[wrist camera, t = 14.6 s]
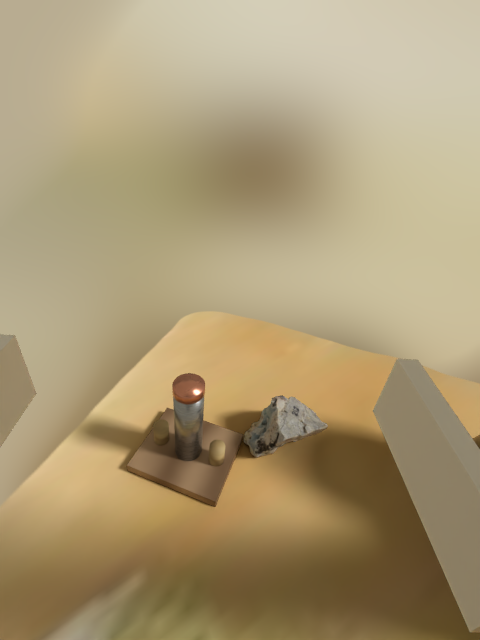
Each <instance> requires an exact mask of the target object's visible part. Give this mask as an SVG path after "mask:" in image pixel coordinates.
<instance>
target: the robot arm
mask: <svg viewBox="0 0 480 640" xmlns="http://www.w3.org/2000/svg"><path fill="white" fill-rule="evenodd" d="M35 395H36V391H35V389H34V386H33V383H32V380H31V378H30V375H29V372H28V369H27V367H26V364H25V361H24V359H23V356H22V353H21V350H20V348H19V345H18V342H17V340H16V337H15V335H0V447H1V446H2V444H3V443H4V441H5V440H6V438H7V436H8V435H9V434H10V432H11V431H12V429H13V428H14V426H15V425H16V423H17V422H18V420H19V419H20V417H21V416H22V414H23V413H24V411H25V410H26V408H27V407H28V405H29V404H30V402H31V401H32V399H33V398H34V396H35ZM373 412H374V414H375V416H376V419H377V421H378V423H379V426H380V428H381V430H382V432H383V435H384V437H385V439H386V442H387V444H388V446H389V448H390V451H391V453H392V455H393V458H394V460H395V462H396V464H397V467H398V469H399V471H400V474H401V476H402V478H403V480H404V483H405V485H406V487H407V490H408V492H409V494H410V497H411V499H412V501H413V503H414V506H415V508H416V510H417V513H418V515H419V517H420V519H421V522H422V524H423V526H424V529H425V531H426V533H427V535H428V538H429V540H430V542H431V545H432V547H433V549H434V551H435V554H436V556H437V558H438V561H439V563H440V565H441V567H442V570H443V572H444V574H445V577H446V579H447V581H448V583H449V586H450V588H451V590H452V593H453V595H454V597H455V599H456V602H457V604H458V606H459V609H460V611H461V613H462V616H463V618H464V620H465V622H466V625H467V627H468V629H469V632H477V633H480V435H478V436H477V437H475V438H473V439H472V437H471V436H470V434H469V433H468V432H467V430H466V429H465V427H464V426H463V424H462V423H461V421H460V420H459V419H458V417H457V416H456V414H455V413H454V411H453V410H452V408H451V407H450V406H449V404H448V403H447V401H446V400H445V398H444V397H443V395H442V394H441V393H440V391H439V390H438V388H437V387H436V385H435V384H434V382H433V381H432V379H431V378H430V377H429V375H428V374H427V372H426V371H425V369H424V368H423V366H422V365H421V364H420V362H419V361H418V360H411V359H397V360H396V362H395V364H394V367H393V369H392V371H391V373H390V375H389V377H388V379H387V382H386V384H385V386H384V388H383V390H382V392H381V395H380V397H379V399H378V401H377V403H376V405H375V407H374V410H373Z"/></svg>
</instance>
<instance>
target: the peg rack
mask: <svg viewBox="0 0 480 640" xmlns="http://www.w3.org/2000/svg"><path fill="white" fill-rule="evenodd" d="M242 440H243V434H240V433H237V432H235V431H232V430H229V429H226V428H223V427H220V426H218V425H215V424H212V423H209V422H206V421H203V435H202V452H201V454H200V456H199V457H198V458H197V459H195V460H193V461H183V460H181V459H179V458H178V457H177V455H176V453H175V430H174V410H172V409H169V408H167V409H166V410H165V412H164V413H163V415H162V416H161V418H160V419H159V420H157V421H156V422H155V423H154V424H153V429H152V430H151V432H150V433H149V435H148V436H147V437H146V439H145V440H144V442H143V443H142V444H141V446H140V447H139V449H138V450H137V452H136V453H135V454H134V456H133V457H132V459H131V460H130V462H129V463H128V464H127V469H128V471H130V472H132V473H135V474H137V475H139V476H142V477H144V478H147V479H149V480H151V481H154V482H156V483H159V484H161V485H164V486H166V487H168V488H171V489H173V490H176V491H178V492H180V493H183V494H185V495H188V496H190V497H192V498H195V499H197V500H200V501H202V502H205V503H207V504H209V505H212V506H214V507H215V506H216V504H217V501H218V499H219V496H220V494H221V491H222V489H223V487H224V484H225V482H226V479H227V477H228V474H229V472H230V469H231V467H232V464H233V462H234V460H235V457H236V455H237V452H238V450H239V447H240V445H241V442H242Z"/></svg>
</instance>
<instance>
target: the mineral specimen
mask: <svg viewBox="0 0 480 640" xmlns="http://www.w3.org/2000/svg"><path fill="white" fill-rule="evenodd" d="M327 427H328V426H327V424H326V423H324V422H321V420H320V419H319V418H318V417H317V415H316V413H315V412H314V411H313V410H311V409H310V408H308V407H307V406H306V405H304V404H303V403H301V402H300V401H299V400H297V399H296V398H295V397H290V398H289V399H287V398H285V397H284V396H275V397H274V398H272V401H271V404H270V405H269V406H268V407H267V408H265V409H264V410H263V411H262V413H261V418H260V420H259V421H258V422H254V423H252V425H251V428H250V429H249V430H248V431H246V432H245V434H244V436H243V442H244V443H245V444H247V445H248V446H250V452H251V454H252V455H254V457H257V458H258V457H260V456H264V455H268V454H273V453H274V452H275V451H276V450H277V448H278V447H281V446H283V445H284V444H285V443H286V442H290V441H294V442H295V441H297V440H301V439H303V438H305V437H308V436H311V435H315V434H317V433H319V432H321V431H323V430H324V429H326V428H327Z"/></svg>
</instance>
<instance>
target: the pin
mask: <svg viewBox="0 0 480 640" xmlns="http://www.w3.org/2000/svg"><path fill="white" fill-rule="evenodd" d="M204 394H205V382H204V380H203V379H202V378H201V377H200V376H198V375H196V374H191V373H188V374H183V375H180V376H178V377H177V378H176V379H175V380H174V382H173V400H174V430H175V453H176V455H177V457H178V458H179V459H181V460H183V461H193V460H195V459H197V458H198V457H199V456H200V454H201V452H202V435H203V411H204Z"/></svg>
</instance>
